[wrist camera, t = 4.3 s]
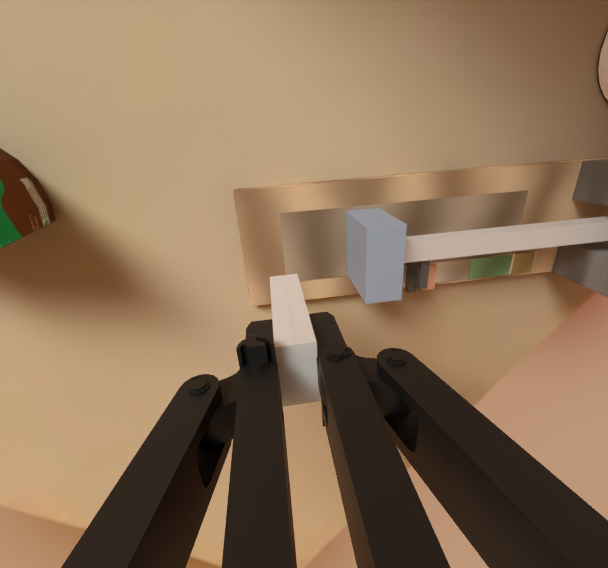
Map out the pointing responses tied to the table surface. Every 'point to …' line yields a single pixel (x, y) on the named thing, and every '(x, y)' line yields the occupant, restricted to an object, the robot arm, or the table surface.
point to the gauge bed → (423, 223)
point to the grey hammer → (440, 248)
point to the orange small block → (431, 276)
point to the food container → (20, 201)
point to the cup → (604, 68)
